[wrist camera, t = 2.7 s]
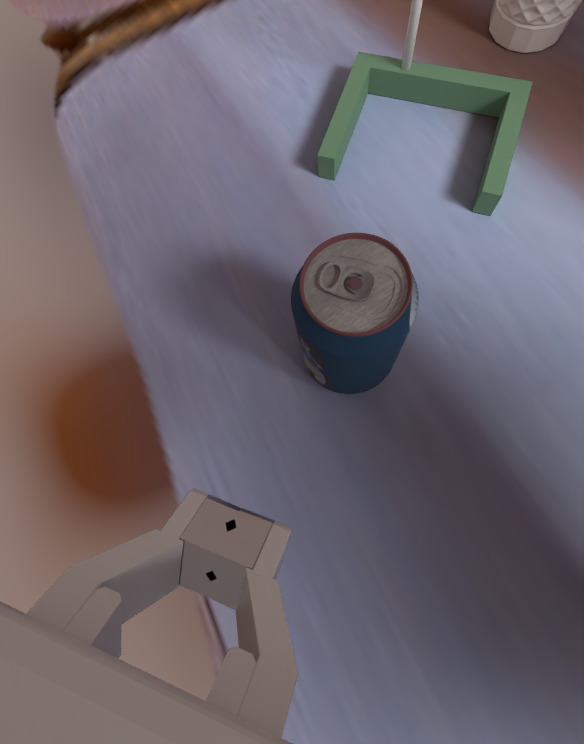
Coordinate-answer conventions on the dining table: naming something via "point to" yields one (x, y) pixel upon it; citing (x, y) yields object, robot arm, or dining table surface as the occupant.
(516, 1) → the white cup
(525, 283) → the dining table surface
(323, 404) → the dining table surface
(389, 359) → the soda can
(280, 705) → the robot arm
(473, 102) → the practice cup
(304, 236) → the dining table surface
